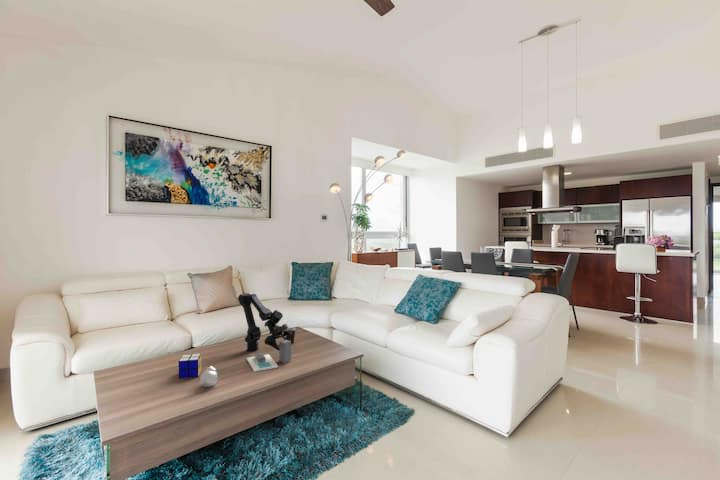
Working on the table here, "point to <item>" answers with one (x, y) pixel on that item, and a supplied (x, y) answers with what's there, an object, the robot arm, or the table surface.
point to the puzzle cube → (190, 366)
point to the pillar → (285, 351)
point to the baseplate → (261, 362)
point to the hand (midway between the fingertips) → (284, 348)
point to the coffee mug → (291, 334)
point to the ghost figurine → (209, 377)
